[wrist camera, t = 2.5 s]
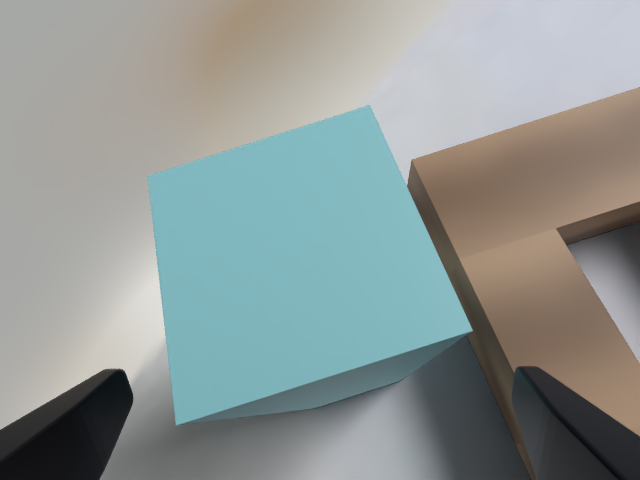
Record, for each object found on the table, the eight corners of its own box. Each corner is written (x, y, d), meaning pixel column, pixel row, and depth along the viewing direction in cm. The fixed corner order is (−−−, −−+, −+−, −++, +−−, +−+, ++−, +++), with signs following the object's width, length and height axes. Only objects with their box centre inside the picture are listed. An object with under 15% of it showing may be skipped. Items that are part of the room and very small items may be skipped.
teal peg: (400, 380, 17) (472, 331, 5) (314, 408, 17) (175, 425, 5) (370, 296, 18) (370, 104, 6) (292, 321, 18) (147, 175, 6)
